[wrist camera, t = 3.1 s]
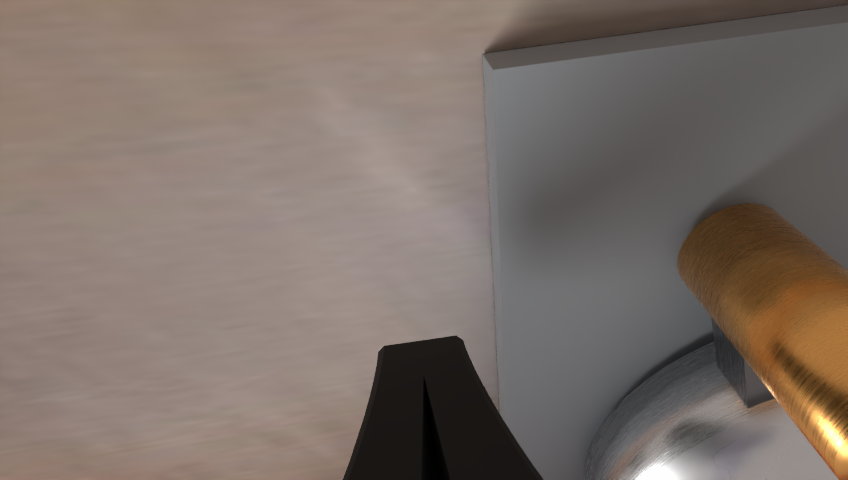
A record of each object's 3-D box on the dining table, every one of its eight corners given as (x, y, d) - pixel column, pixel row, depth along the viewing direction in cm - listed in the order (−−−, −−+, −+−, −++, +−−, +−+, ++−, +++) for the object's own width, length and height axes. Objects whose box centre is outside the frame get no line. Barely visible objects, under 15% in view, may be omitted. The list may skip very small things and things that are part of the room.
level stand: (938, 467, 19) (1003, 535, 17) (505, 532, 19) (521, 608, 17) (1284, -54, 10) (1499, -37, 8) (482, 54, 10) (510, 96, 8)
